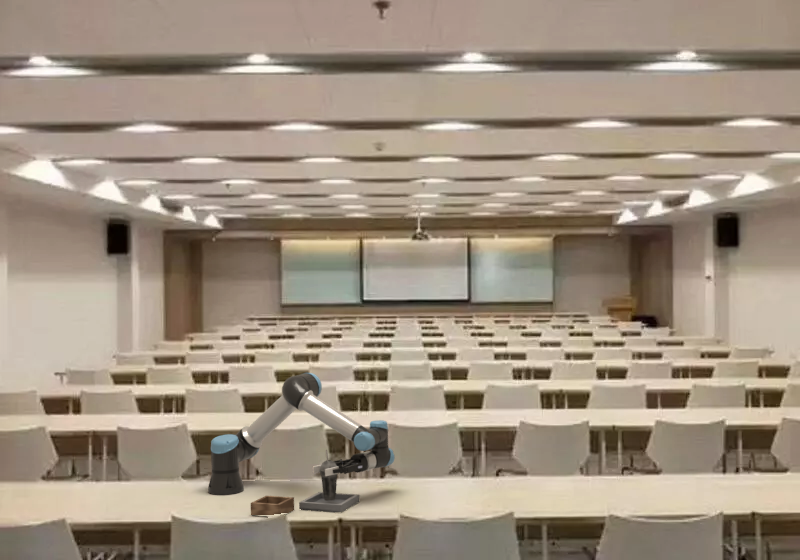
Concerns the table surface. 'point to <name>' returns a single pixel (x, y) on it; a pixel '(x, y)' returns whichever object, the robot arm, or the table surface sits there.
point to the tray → (329, 502)
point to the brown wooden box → (272, 505)
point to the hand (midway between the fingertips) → (319, 471)
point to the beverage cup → (328, 480)
